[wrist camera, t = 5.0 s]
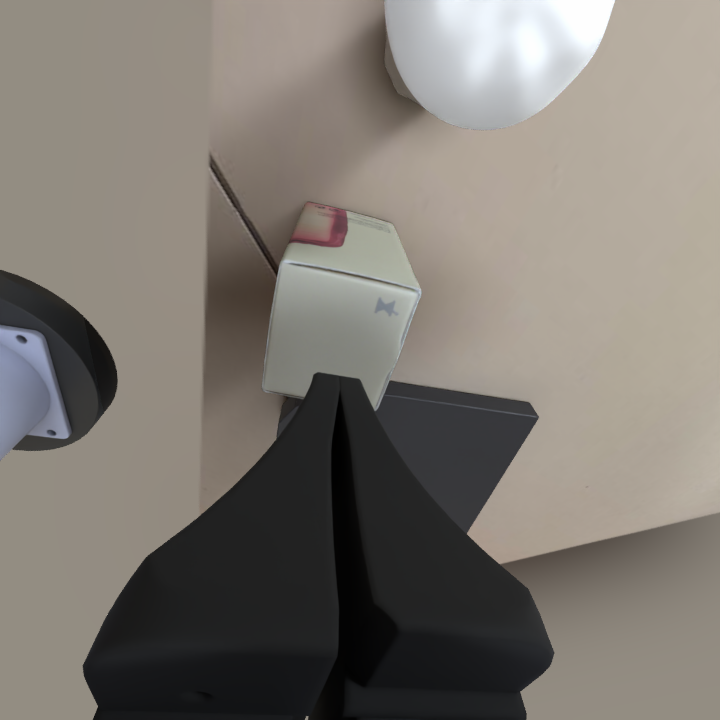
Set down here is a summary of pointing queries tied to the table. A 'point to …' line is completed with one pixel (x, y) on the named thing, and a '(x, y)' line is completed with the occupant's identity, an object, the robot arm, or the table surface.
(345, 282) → the small box
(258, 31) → the table surface
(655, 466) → the table surface
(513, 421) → the scale
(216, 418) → the table surface
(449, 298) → the table surface
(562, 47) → the milkshake
